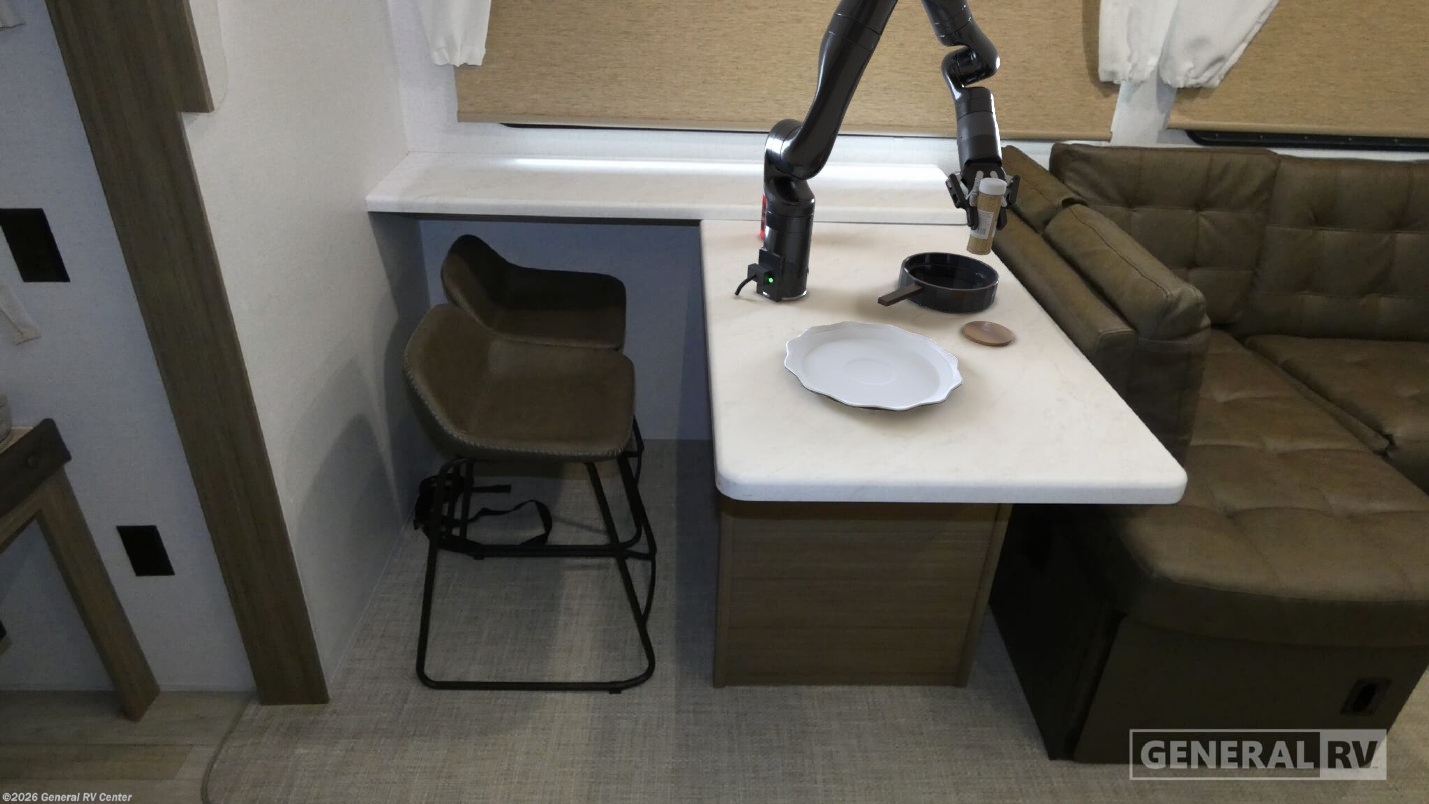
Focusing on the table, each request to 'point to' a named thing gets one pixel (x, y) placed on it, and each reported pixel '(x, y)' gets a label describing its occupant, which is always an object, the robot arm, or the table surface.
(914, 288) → the pan handle
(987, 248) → the sprinkles bottle
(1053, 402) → the table surface
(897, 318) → the table surface
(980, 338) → the coaster
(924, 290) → the pan
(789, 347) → the plate
